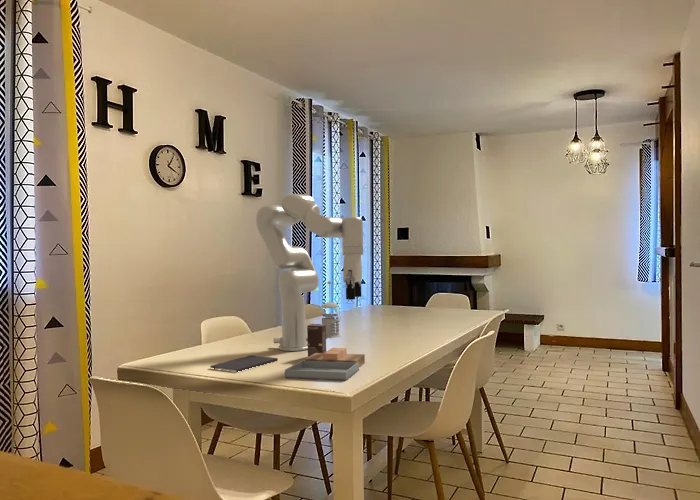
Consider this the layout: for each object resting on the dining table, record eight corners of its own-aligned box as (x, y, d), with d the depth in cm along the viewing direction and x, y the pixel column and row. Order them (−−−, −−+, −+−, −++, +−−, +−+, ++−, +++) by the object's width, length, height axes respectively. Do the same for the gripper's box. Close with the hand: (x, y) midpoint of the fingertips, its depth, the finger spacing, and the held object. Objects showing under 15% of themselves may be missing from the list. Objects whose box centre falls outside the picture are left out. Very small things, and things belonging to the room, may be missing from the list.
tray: (284, 377, 177) (284, 369, 177) (301, 367, 191) (301, 360, 191) (346, 380, 171) (346, 372, 171) (358, 370, 185) (358, 362, 185)
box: (307, 358, 207) (306, 325, 207) (311, 355, 211) (311, 323, 211) (322, 358, 205) (322, 325, 205) (327, 356, 210) (326, 324, 210)
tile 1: (323, 359, 189) (323, 353, 189) (328, 356, 194) (327, 350, 194) (337, 359, 188) (337, 353, 188) (341, 356, 193) (341, 351, 193)
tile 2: (328, 356, 194) (328, 350, 194) (333, 353, 199) (332, 347, 199) (342, 356, 193) (342, 350, 193) (346, 353, 198) (346, 348, 198)
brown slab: (304, 367, 191) (304, 359, 191) (315, 361, 201) (315, 352, 201) (356, 369, 186) (356, 360, 185) (364, 363, 196) (364, 354, 196)
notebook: (236, 374, 186) (277, 362, 204) (236, 369, 186) (277, 358, 204) (208, 370, 192) (251, 359, 210) (208, 366, 192) (251, 355, 210)
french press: (315, 336, 255) (314, 281, 255) (330, 333, 265) (329, 280, 265) (332, 338, 250) (331, 282, 250) (348, 334, 259) (346, 280, 259)
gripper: (348, 250, 215) (349, 295, 215) (336, 251, 198) (337, 300, 198) (368, 250, 213) (369, 295, 213) (357, 251, 196) (358, 300, 196)
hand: (353, 298), depth 206 cm, fingers open, 9 cm apart
